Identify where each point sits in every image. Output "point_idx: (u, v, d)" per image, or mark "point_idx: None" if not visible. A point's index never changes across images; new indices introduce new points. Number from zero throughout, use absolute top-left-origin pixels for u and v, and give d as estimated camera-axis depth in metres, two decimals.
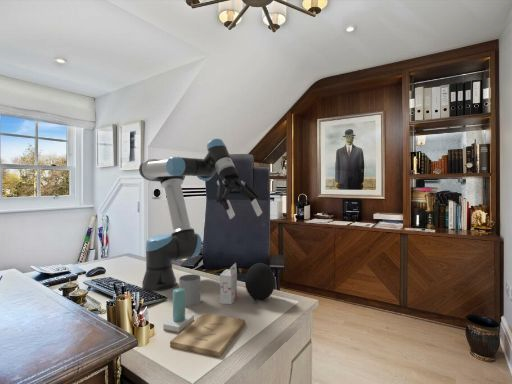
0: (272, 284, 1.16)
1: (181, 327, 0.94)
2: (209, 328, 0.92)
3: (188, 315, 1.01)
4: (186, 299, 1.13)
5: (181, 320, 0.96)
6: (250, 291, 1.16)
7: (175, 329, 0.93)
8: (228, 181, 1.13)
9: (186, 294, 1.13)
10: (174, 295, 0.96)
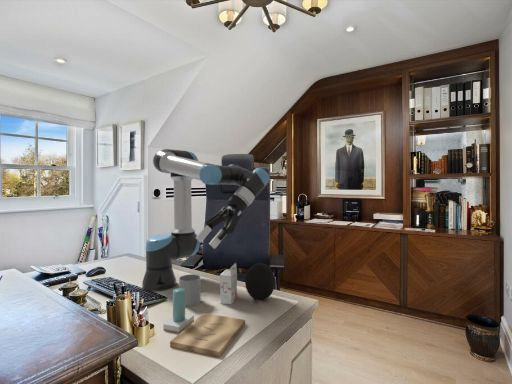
0: (272, 284, 1.16)
1: (181, 327, 0.94)
2: (209, 328, 0.92)
3: (188, 315, 1.01)
4: (186, 299, 1.13)
5: (181, 320, 0.96)
6: (250, 291, 1.16)
7: (175, 329, 0.93)
8: None
9: (186, 294, 1.13)
10: (174, 295, 0.96)
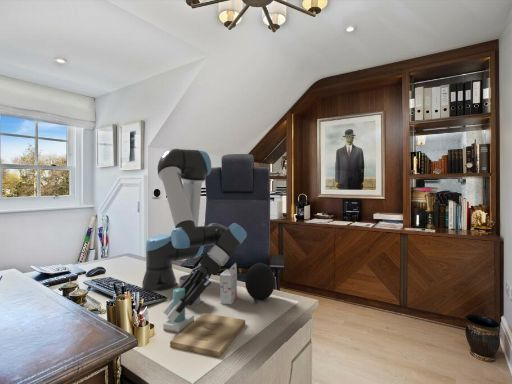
0: (272, 284, 1.16)
1: (181, 327, 0.94)
2: (209, 328, 0.92)
3: (188, 315, 1.01)
4: None
5: (181, 320, 0.96)
6: (250, 291, 1.16)
7: (175, 329, 0.93)
8: None
9: None
10: (174, 295, 0.96)
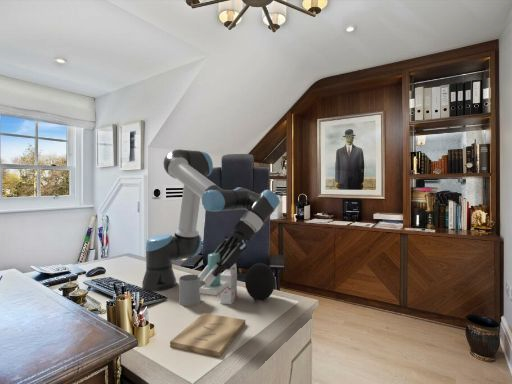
0: (272, 284, 1.16)
1: (218, 291, 0.92)
2: (209, 328, 0.92)
3: (222, 281, 0.99)
4: (186, 299, 1.13)
5: (217, 284, 0.94)
6: (250, 291, 1.16)
7: (212, 292, 0.91)
8: None
9: (186, 294, 1.13)
10: (210, 259, 0.94)
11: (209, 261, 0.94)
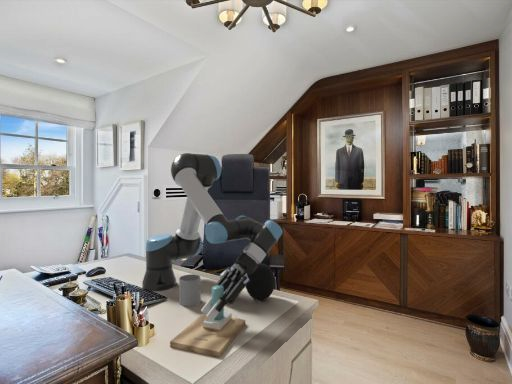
0: (272, 284, 1.16)
1: (221, 325, 0.92)
2: None
3: (226, 313, 0.99)
4: (186, 299, 1.13)
5: (220, 318, 0.94)
6: (250, 291, 1.16)
7: (216, 327, 0.91)
8: None
9: (186, 294, 1.13)
10: (213, 292, 0.94)
11: (213, 294, 0.94)
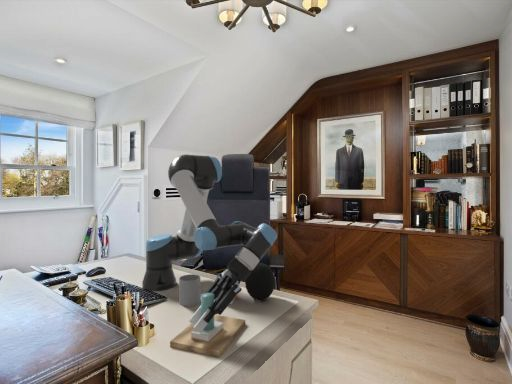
0: (272, 284, 1.16)
1: (210, 336, 0.85)
2: None
3: (217, 322, 0.92)
4: (185, 299, 1.13)
5: (210, 328, 0.88)
6: (250, 291, 1.16)
7: (204, 338, 0.84)
8: None
9: (186, 294, 1.13)
10: (203, 300, 0.87)
11: (202, 303, 0.88)
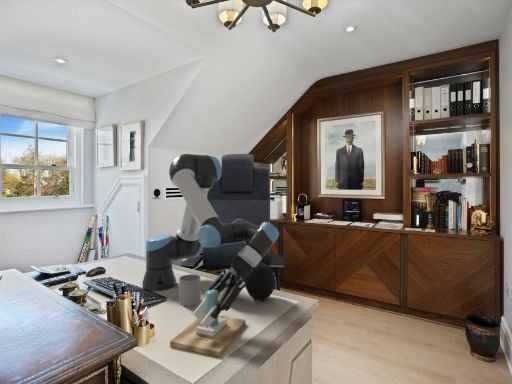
0: (272, 284, 1.16)
1: (215, 331, 0.88)
2: None
3: (221, 318, 0.95)
4: (186, 299, 1.13)
5: (214, 324, 0.90)
6: (250, 291, 1.16)
7: (209, 333, 0.87)
8: None
9: (186, 294, 1.13)
10: (207, 297, 0.90)
11: (206, 299, 0.90)
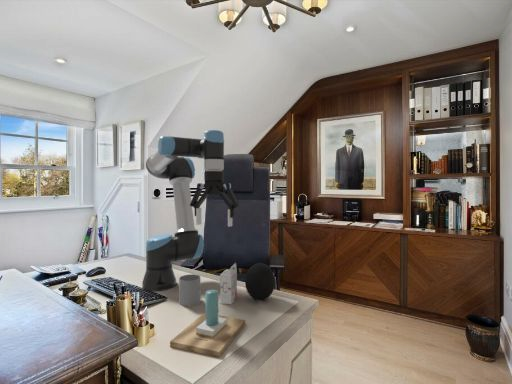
0: (272, 284, 1.16)
1: (215, 331, 0.88)
2: None
3: (221, 318, 0.95)
4: (185, 299, 1.13)
5: (214, 324, 0.90)
6: (250, 291, 1.16)
7: (209, 333, 0.87)
8: None
9: (186, 294, 1.13)
10: (207, 297, 0.90)
11: (206, 299, 0.90)
